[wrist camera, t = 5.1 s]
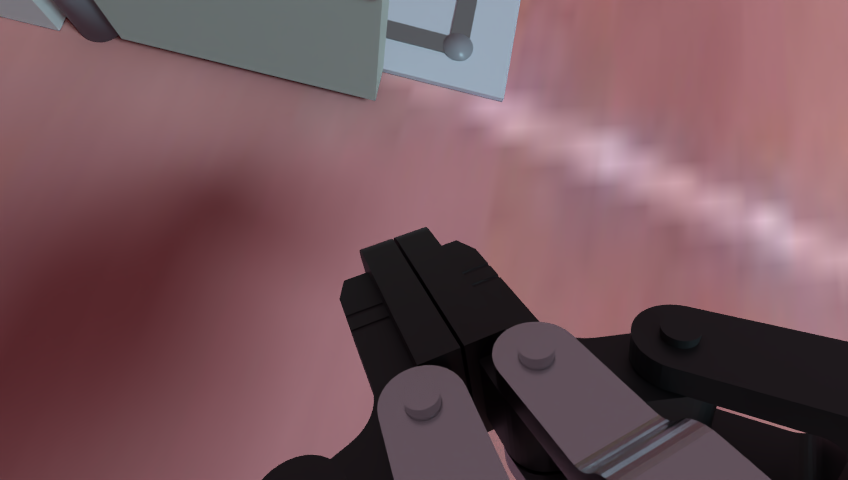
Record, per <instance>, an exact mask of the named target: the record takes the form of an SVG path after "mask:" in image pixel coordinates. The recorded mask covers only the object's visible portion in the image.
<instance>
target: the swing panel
mask: <svg viewBox="0 0 848 480" xmlns="http://www.w3.org/2000/svg"><path fill="white" fill-rule="evenodd" d="M94 1H95V3H96V4H97V5H98V7H99V8H100V10H101V11H102V12H103V14H104V15H105V16H106V18H107V19H108V21H109V22H110V23H111V25H112V26H113V28H114V29H115V30H116V32H117V33H118V34H119V36H120V37H121V39H125V40H129V41H133V42H137V43H141V44H146V45H150V46H154V47H158V48H162V49H166V50H170V51H174V52H178V53H182V54H186V55H190V56H195V57H199V58H203V59H207V60H211V61H215V62H219V63H223V64H227V65H231V66H235V67H239V68H243V69H248V70H252V71H256V72H260V73H264V74H268V75H272V76H276V77H280V78H284V79H288V80H292V81H297V82H301V83H305V84H309V85H313V86H317V87H321V88H325V89H329V90H333V91H337V92H341V93H346V94H350V95H354V96H358V97H362V98H366V99H370V100H374V101H375V100H376V96H377V92H378V87H379V83H380V79H381V75H382V71H383V65H384V54H385V43H386V32H387V20H388V9H389V0H94Z"/></svg>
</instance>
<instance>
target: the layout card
mask: <svg viewBox="0 0 848 480" xmlns="http://www.w3.org/2000/svg"><path fill="white" fill-rule="evenodd" d="M519 6H520V0H389V9H388V20H387V32H386V43H385V54H384V65H383V71H382V72H385V73H389V74H393V75H397V76H401V77H405V78H409V79H413V80H417V81H421V82H425V83H429V84H433V85H437V86H441V87H445V88H449V89H453V90H457V91H461V92H465V93H469V94H473V95H477V96H481V97H485V98H489V99H493V100H497V101H501V102H502V101H503V99H504V94H505V88H506V82H507V76H508V70H509V65H510V59H511V53H512V47H513V41H514V35H515V29H516V24H517V18H518V12H519Z"/></svg>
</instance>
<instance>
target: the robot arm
mask: <svg viewBox="0 0 848 480" xmlns="http://www.w3.org/2000/svg"><path fill="white" fill-rule="evenodd" d="M360 255H361V259H362V262H363V266H364V269H365V272H366V273H364V274H362V275H359V276H356V277H353V278H351V279H348V280H345V281H344V283H343V287H342V292H341V296H340V301H341V304H342V307H343V310H344V313H345V316H346V319H347V322H348V324H349V327H350V330H351V333H352V336H353V339H354V342H355V345H356V347H357V350H358V353H359V356H360V359H361V361H362V364H363V367H364V370H365V372H366V375H367V378H368V381H369V384H370V386H371V389H372V392H373V395H374V406H373V411H372V414H371V417H370V419H369V421H368V423H367V424H366V426H365V428H364V429H363V431H362V432H361V433H360V434H359V435H358V436H357V437H356V438H355V439H354V440H353V441H352V442H351V443H350V444H349V445H347V446H346V447H345V448H344V449H342V450H341V451H340V452H339V453H338V454H336V455H335V456H334V457H333V458H331V459H328V458H326V457H323V456H319V455H304V456H299V457H295V458H293V459H290V460H287V461H285V462H284V463H282V464H280V465H278V466H277V467H276V468H274V469H273V470H271V471H270V472H269V473H268V474H267V475H266V476H265V477H264V478H263V479H262V480H509V478H508V475H507V473H506V471H505V469H504V467H503V465H502V463H501V460H500V458H499V456H498V454H497V452H496V450H495V448H494V445H493V443H492V441H491V439H490V437H489V435H488V432H489V431H491V430H493V429H494V430H495V431H496V433H497V435H498V437H499V438H500V440H501V442H502V443H503V445H504V451H505V458H506V462H507V465H508V467H509V469H510V471H511V473H512V474H513V476H514V477H515V479H516V480H848V342H847V341H842V340H838V339H833V338H829V337H824V336H819V335H815V334H810V333H806V332H801V331H797V330H792V329H787V328H783V327H778V326H774V325H769V324H765V323H760V322H755V321H751V320H746V319H742V318H737V317H733V316H728V315H723V314H719V313H714V312H710V311H705V310H701V309H696V308H691V307H687V306H681V305H660V306H654V307H651V308H648V309H646V310H644V311H642V312H641V313H640V314H638V315H637V317H636V318H635V319H634V321H633V323H632V327H631V333H630V334H622V335H614V336H606V337H598V338H575V337H574V336H573V335H572V334H570V333H569V332H568V331H566V330H565V329H563V328H561V327H559V326H556V325H554V324H550V323H545V322H539V321H538V320H537V319H536V317H535V316H534V315H533V314H532V313H531V312H530V311H529V309H528V308H527V307H526V306H525V305H524V304H523V303H522V302H521V300H520V299H519V298H518V297H517V296H516V295H515V294H514V292H513V291H512V290H511V289H510V288H509V287H508V286H507V284H506V283H505V282H504V281H503V280H502V279H501V278H499V277H498V274H497V273H496V272H495V271H494V270H493V268H492V267H491V266H489V265H488V263H487V262H486V260H485V259H484V258H483V257H482V256H481V255H480V254H479V253H478V251H477V250H476V249H474V248H472V247H470V246H467V245H465V244H463V243H461V242H459V241H453V242H451V243H448V244H445V245H442V246H441V245H440V243H439V242H438V241H437V239H436V238H435V237H434V235H433V234H432V233H431V232H430V230H429V229H428V228H427V227H424V228H421V229H418V230H416V231H413V232H410V233H407V234H404V235H401V236H398V237H395V238H394V240H393V239H390V240H387V241H384V242H381V243H379V244H376V245H373V246H370V247H367V248H364V249H361V250H360ZM717 406H719V407H723V408H726V409H729V410H733V411H736V412H739V413H743V414H746V415H749V416H752V417H756V418H759V419H762V420H766V421H769V422H772V423H776V424H779V425H782V426H785V427H789V428H792V429H795V430H799V431H802V432H805V433H796V432H791V431H788V430H784V429H781V428H778V427H775V426H771V425H768V424H765V423H761V422H758V421H755V420H752V419H748V418H745V417H742V416H739V415H735V414H732V413H729V412H725V411H722V410H719V409H716V407H717Z"/></svg>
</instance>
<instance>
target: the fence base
mask: <svg viewBox="0 0 848 480" xmlns="http://www.w3.org/2000/svg"><path fill="white" fill-rule="evenodd" d="M0 17H4V18H8V19H13V20H17V21H21V22H25V23H29V24H33V25H37V26H41V27H45V28H49V29H54V30H58V31H60V29H61V27H62V25H63V23H64V20H65V18H66V17H67V18H68V19H69V20H70V21H71V23H72V24H73V25H74V26H75V27H76V29H77V30H78V31H79V32H80V33H81V34H82V36H83V37H85V38H86V39H88V40H90V41H94V42H106V41H109V40H112V39H114V38H115V37H117V36H118V35H119V34H118V33H117V32H116V30H115V29H114V28H113V26H112V25H111V23H110V22H109V21H108V19H107V18H106V16H105V15H104V14H103V12H102V11H101V10H100V8H99V7H98V5H97V4H96V3H95V1H94V0H0Z"/></svg>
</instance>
